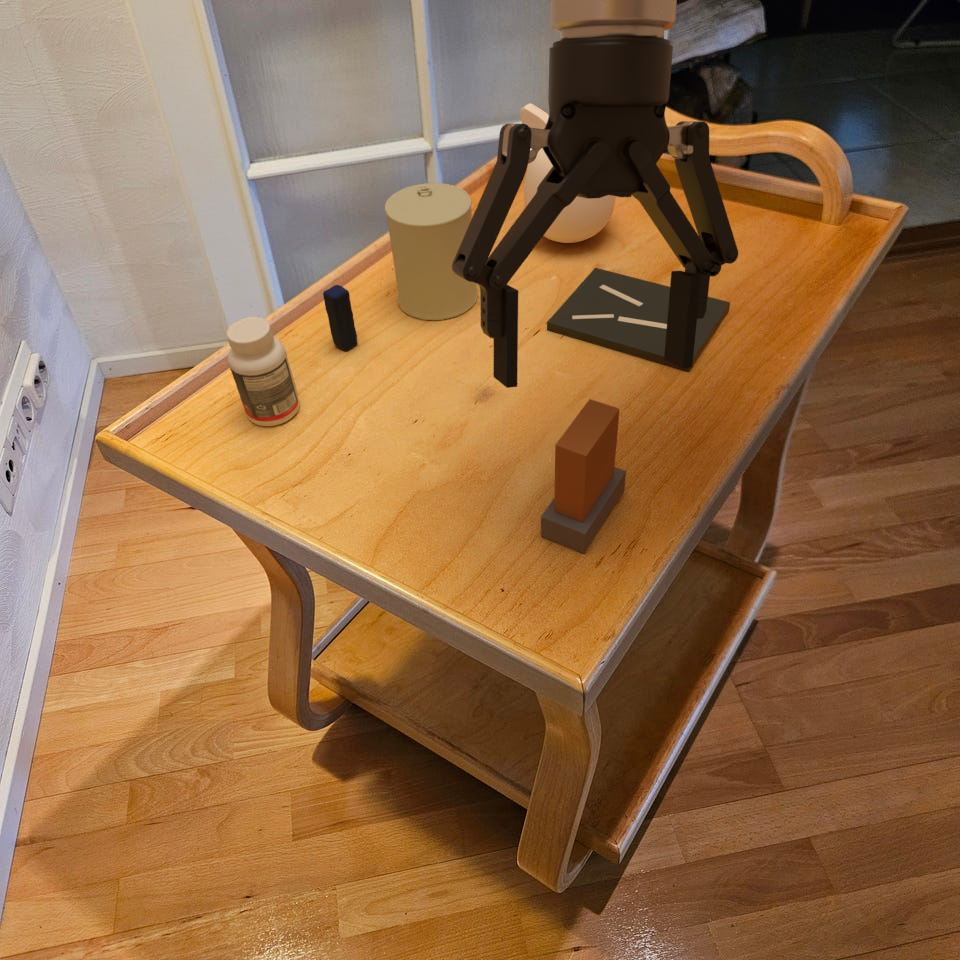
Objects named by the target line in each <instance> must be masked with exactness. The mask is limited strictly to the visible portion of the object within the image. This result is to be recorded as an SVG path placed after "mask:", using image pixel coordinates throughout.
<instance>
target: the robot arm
mask: <svg viewBox="0 0 960 960" xmlns="http://www.w3.org/2000/svg"><path fill="white" fill-rule="evenodd" d="M677 2H678V0H550V19H549V21H550V22H549V23H550V28H551V29H552V30H553V31H554V32H555V33H559V40H558V41H554V42H553V43H552V47H549V49H548V50H549V52H548V53H549V56H548V57H549V58H548V60H549V61H548V90H547V91H548V92H547V93H548V96H547V98H548V99H547V101H548V102H547V103H548V115H549V118H548V121H547V124H546V126H545V128H544V129H538V128H530V127H529V126H528V125H526V124H522V123H516V122H515V123H513V122H511V123H510V122H509V123H505V124H504V125H502V126H501V127H500V130H499V135H498V146H497V155H496V156H497V157H496V162H495V164H494V167H493V169H492V171H491V174H490V175H489V178H488V181H487V183H486V185H485V187H484V190H483V192H482V194H481V196H480V199H479V201H478V204H477V205H476V208H475V210H474V213H473V215H472V220H471V222H470V224H469V226H468V229H467V231H466V233H465V236H464V238H463V240H462V243H461V245H460V247H459V249H458V252H457V254H456V256H455V259H454V261H453V264H452V270H453V272H454V273H455V274H456V275H458V276H460V277H462V278H463V279H465V280H467V281H470V282H474V283H476V285H478V288H479V290H480V291H479V293H480V297H479V298H480V328H481V330H482V333H483V334H484V335H486V336H487V337H489V338H490V339H493V378H494V379H495V380H496V381H498V382H499V383H500V384H501V385H503V386H504V387H506V389H508V388H509V389H511V388H518V358H519V357H518V354H519V353H518V352H519V349H518V348H519V343H518V342H519V290H518V289H516V288H515V287H512V286H511V285H509V284H508V283H509V282H510V281H511V279H512V278H513V277H514V276H515V274H516V273H517V272H518V270H519V269H520V267H521V266H522V265H523V263H524V262H525V261H526V259H527V258H528V257H529V255H531V253H532V252H533V250H534V249H535V247H536V246H537V245H538V244H539V242H540V241H541V240H542V238H543V237H544V236H543V235H544V234H545V233H546V231H547V230H548V229H549V227H550V226H551V225H552V223H553V222H554V221H555V219H556V218H557V217H558V215H559V214H560V213H561V211H562V210H563V209H564V208H565V207H566V206H568V205H570V204H571V203H572V202H573V200H574V199H575V198H576V196H578V197H583V198H588V199H592V198H601V197H604V196H607V195H611V196H615V197H616V198H617V197H618V198H632V197H633V198H634V199H636V200H637V201H638V202H639V203H640V205H641V207H642V208H643V210H644V211H645V212H646V214H647V215H648V216H649V218H650V220H651V221H652V223H653V225H654V226H655V227H656V229H657V230H658V232H659V233H660V234H661V236H662V237H663V239H664V240H665V242H666V243H667V245H668V247H669V248H670V249H671V251H672V253H673V254H674V255H675V257H676V258H677V260H678V261H679V263H680V264H681V266H682V267H683V268H684V270H671V273H670V284H669V285H670V286H669V287H670V295H669V306H668V318H667V330H666V342H665V354H664V359H665V360H667V361H669V362H671V363H673V364H675V365H677V366H679V367H681V368H691V369H692V368H693V366H692V364H693V354H694V344H695V334H696V324H697V319H702V318H704V315H705V313H706V310H707V300H708V298H707V297H709V289H710V287H709V286H710V282H711V281H710V279H711V277H712V278H713V277H716V276H718V275H719V273H720V272H721V271H722V266H723V265H726V264H728V265H729V264H730V265H731V264H733V263H735V262H736V261H737V259H738V257H739V249H738V246H737V243H736V240H735V237H734V232H733V230H732V227H731V224H730V220H729V217H728V213H727V210H726V208H725V204H724V201H723V198H722V194H721V191H720V188H719V185H718V181H717V178H716V175H715V172H714V168H713V166H712V162H711V159H710V126H709V124H708V123H707V122H706V121H693V120H688V121H687V120H685V121H684V120H683V121H678V122H677V123H676V124H675V125H671V126H668V125H667V121H666V114H665V112H666V108H667V104H668V102H669V98H670V92H671V91H670V90H671V77H672V66H673V65H672V64H673V63H672V62H673V49H674V46H673V44H671V41H670V39H667V38H665V32H666V31H669V30H670V29H672V28H673V26H675V24H676V21H677V20H676V19H677V18H676V17H677V4H678V3H677ZM541 148H543V150H544V152H545V154H546V155H547V157H548V159H549V160H550V162H551V164H552V165H553V167H552V168H551V170H550V171H549V172H548V174H547V175H546V176H545V178H544V179H543V180H542V182H541V183H540V184H539V186H538V188H537V192H536V194H535V196H534V197H533V198H532V200H531V201H530V202H529V204H528V205H527V206H526V208H525V207H524V209H523V210H522V212H521V213H520V214H519V216H518V217H517V218H516V219H515V221H514V223H513V224H512V225H511V226H510V227H509V229H508V231H507V232H506V233H505V234H504V236H503V237H502V239H501V240H500V241H499V243H498V244H497V246H496V247H495V248H494V246H495V244H496V241H497V239H498V237H499V235H500V232H501V230H502V228H503V225H504V223H505V222H506V220H507V217H508V215H509V212H510V210H511V208H512V205H513V203H514V201H515V199H516V197H517V194H518V192H519V190H520V187H521V185H522V183H523V182H524V179H525V178H524V177H525V176H526V171H527V167H528V163H531V162H533V161H534V160H535V159H536V156H537V153H538V152H539V150H540V149H541ZM666 150H667V151H668V153H669V156H671V157H672V158H673V159H674V164H675V168H676V172H677V175H678V178H679V181H680V185H681V187H682V190H683V193H684V196H685V199H686V202H687V205H688V208H689V211H690V215H691V217H692V220H693V223H694V226H695V227H693V225H692V223H691V222H690V220H689V219H688V217H687V215H686V214H685V212H684V210H683V209H682V208H681V206H680V205H679V203H678V202H677V200H676V199H675V196H674V195H673V194H672V192H671V185H670V183H669V182H668V180H667V179H666V177H665V175H664V174H663V173H662V171H661V169H660V168H659V166H658V165H657V163H658V162H659V161H660V159H661V157H662V156H663V155H664V153H665V152H666ZM493 248H494V249H493ZM693 365H694V364H693Z"/></svg>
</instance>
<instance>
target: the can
mask: <svg viewBox="0 0 960 960" xmlns="http://www.w3.org/2000/svg"><path fill="white" fill-rule="evenodd" d="M472 203H473V202H472V198H471V196H470V193H468V192H467V191H466V190H464V189H463V188H462V187H459V186H457V185H452V184H448V183H443V182H441V183H440V182H427V183H419V184H414V185H410V186H407V187H404V188H402V189H399V190H398V191H396V192H395V193H393V194H391V195H390V196H389V197H388V198H387V200H386V202H385V203H384V213H385V216H386V222H387V229H388V235H389V241H390V247H391V253H392V260H393V261H392V262H393V268H394V274H395V282H396V289H397V297H396V300H397V304H398V307H399V308H400V310H401V311H403V312H404V313H405V314H407V315H408V316H410V317H412V318H414V319H418V320H423V321H442V320H449V319H453V318H456V317H458V316H461V315H463V314H464V313H466V312H468V311H469V310H470V309H471V308H473V307H474V305H475V304H476V302H477V300H478V298H479V290H478V287H477V283H474V282H470V281H467V280H465V279H463V278H462V277H460V276H458V275H456V274H455V273H454V272H453V270H452V264H453V261H454V259H455V256H456V254H457V252H458V249H459V247H460V245H461V243H462V240H463V238H464V236H465V233H466V231H467V229H468V226H469V224H470V222H471V220H472V217H473V215H472Z"/></svg>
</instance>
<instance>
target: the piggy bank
mask: <svg viewBox="0 0 960 960" xmlns="http://www.w3.org/2000/svg"><path fill="white" fill-rule="evenodd" d="M519 117H520V121H521V124H526V125H528V126H529V127H530V128H538V129H544V128H545V126H546V124H547V121H548V118H549V113H547V112H546V111H545V110H543V109H541V108H540V107H537V105H535V104H534V103H531V102H530V103H527V104H526V105H524V106H523V107H521V109H520V111H519ZM552 167H553V165H552V164H551V162H550V160H549V159H548V157H547V155H546V154H545V152H544V150H543V148H541V149H540V150H539V152H538V153H537V156H536V159H535V160H534V161H533V162H531V163H528V166H527V170H526V173H525V176H524V177H525V178H524V185H523V201H524V202H523V203H524V209H525V208H526V206H527V205H528V204H529V202H530V201H531V200H532V198H533V197H534V196H535V194H536V192H537V188H538V186H539V184H540V183H541V182H542V180H543V179H544V178H545V176H546V175H547V174H548V172H549V171H550V170H551V168H552ZM615 205H616V196H611V195H607V196H604V197H601V198H592V199H588V198H583V197H578V196H576V198H575V199H574V200H573V202H572V203H571V204H570V205H568V206H566V207H565V208H564V209H563V210H562V211H561V213H560V214H559V215H558V217H557V218H556V219H555V221H554V222H553V223H552V225H551V226H550V227H549V229H548V230H547V231H546V233H545V234H544V235H543V237H544V238H546V239H548V240H550V241H553V242H556V243H563V244H573V243H579V242H583V241H586V240H589V239H591V238H592V237H594V236H596V235H598V234H599V233H600V232H601V231H602V230H603V229H604V228H605V227H606V226H607V224H608V223H609V221H610V219H611V217H612V215H613V212H614V210H615Z"/></svg>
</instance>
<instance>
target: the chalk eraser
mask: <svg viewBox="0 0 960 960" xmlns="http://www.w3.org/2000/svg"><path fill="white" fill-rule="evenodd" d="M620 410H621V409H620V408H619V407H617V406H613V405H609V404H607V403H603V402H600V401H597V400H594V399H592V398H589V399H588V401H586V403H585V404H584V406H583V407H582V408H581V410H580V411H579V412H578V413H577V415H576V417H575V418H574V419H573V421H571V423H570V424H569V426H568V427H567V429H565V431H564V432H563V434H562V435H561V436H560V438H559V439H558V441H557V442H556V443H555V445H554V455H555V456H554V496H553V499H552V500H551V501H550V503H549V504H548V506H547V507H546V509H545V510H544V511H543V513H542V514H541V515H540V537H542V538H544V539H547V540H549V541H552V542H554V543H557V544H559V545H561V546H564V547H567V548H568V549H572V550H574V551H576V552H578V553H580V554H584V555H585V554H586V552H587V550H588V549H589V547H590V545H591V544H592V543H593V541H594V539H595V538H596V537H597V534H598V533H599V531H600V530H601V528H602V527H603V526H604V524H605V522H606V521H607V519H608V517H609V516H610V514H611V512H612V511H613V510H614V508H615V507H616V506H617V505H616V504H617V503H618V501H619V500H620V498H621V497H622V495H623V493H624V492H625V486H626V478H627V470H624V469H621V468H619V467H617V466H615V465H616V456H617V455H616V453H617V444H618V443H617V442H618V434H619V433H618V430H619V421H620V420H619V419H620Z"/></svg>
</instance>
